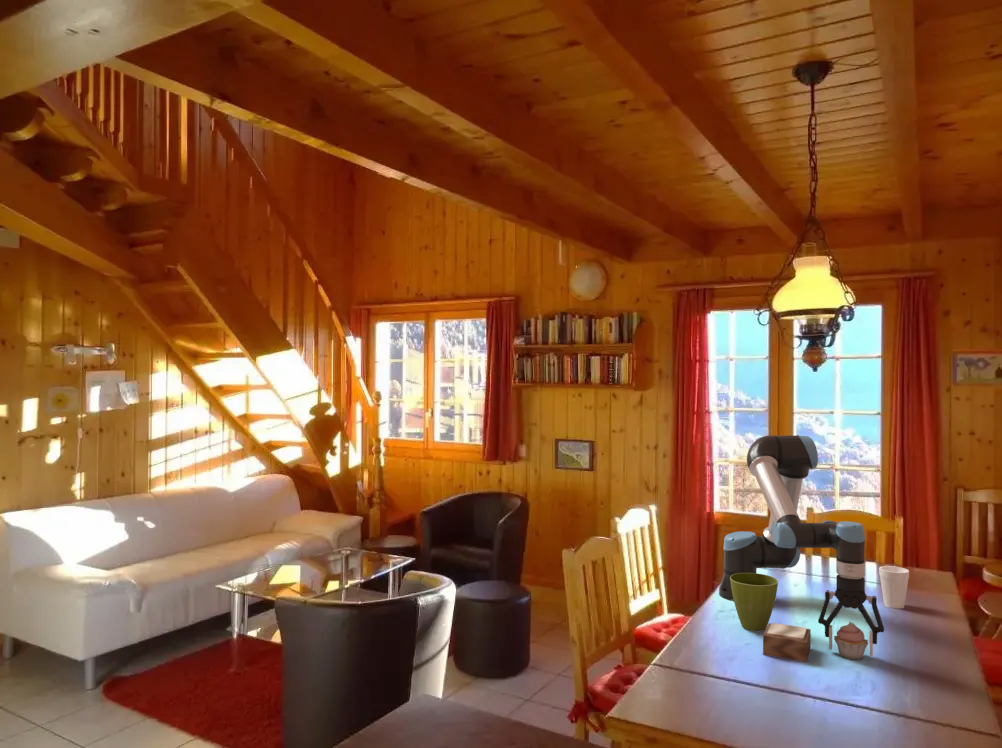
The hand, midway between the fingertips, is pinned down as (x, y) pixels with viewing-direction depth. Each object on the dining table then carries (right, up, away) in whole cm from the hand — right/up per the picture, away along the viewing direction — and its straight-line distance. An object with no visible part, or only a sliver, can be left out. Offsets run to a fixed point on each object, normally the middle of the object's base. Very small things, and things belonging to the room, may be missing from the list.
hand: (850, 651), depth 216 cm
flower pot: (-20, -2, +24) cm, 31 cm away
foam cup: (+38, -2, +47) cm, 60 cm away
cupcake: (0, -2, 0) cm, 2 cm away
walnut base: (-17, -1, +3) cm, 18 cm away
